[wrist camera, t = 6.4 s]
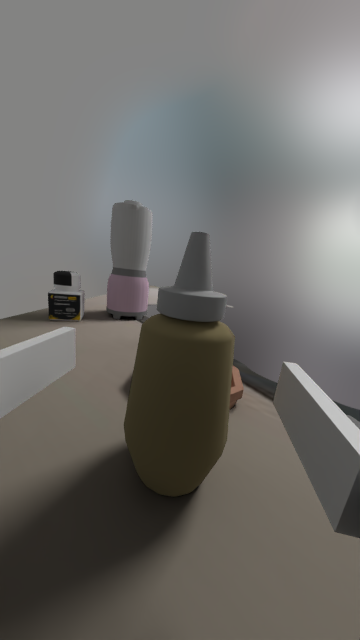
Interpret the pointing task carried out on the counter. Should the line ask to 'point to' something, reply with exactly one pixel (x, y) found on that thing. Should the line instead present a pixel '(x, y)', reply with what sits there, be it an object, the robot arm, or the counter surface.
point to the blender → (129, 260)
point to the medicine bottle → (66, 297)
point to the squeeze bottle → (181, 380)
